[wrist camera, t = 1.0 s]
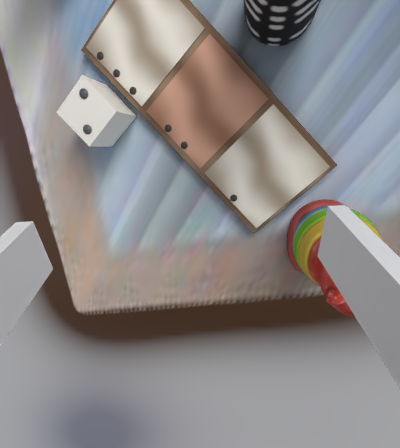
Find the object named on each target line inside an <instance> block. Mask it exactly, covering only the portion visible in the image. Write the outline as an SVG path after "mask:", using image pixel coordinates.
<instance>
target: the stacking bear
mask: <svg viewBox="0 0 400 448" xmlns="http://www.w3.org/2000/svg"><path fill="white" fill-rule="evenodd" d="M338 205H343V204H341V203H339V202H337V201H333V200H318V201H314V202H311V203H309V204H307V205H305V206H304V207H302V208H301V209H300V210H299V211H298V212H297V213H296V214H295V215H294V217H293V219H292V221H291V223H290V226H289V230H288V236H287V248H288V254H289V257H290V260H291V263H292V265H293V267H294V268H295V269H296V270H298V271H301V272H302V273H305V274H306V275H307V276H308V277H309V278H310V279H311V280H312V281H313V282H315V283H316V284H317V285H319V286H320V287H321V289H322V291H323V293H324V295H325V300H326V302H327V303H329V304H331V305H332V306H333V307H334V308H335V309H337V310H338V311H339V312H341V313H343V314H345V315H348V316H352V317H355V315H354V314H353V312H352V311H351V309H350V307H349V306H348V304H347V303H346V301H345V299H344V298H343V296H342V295H341V293H340V291H339V290H338V288H337V287H336V285H335V283H334V282H333V280H332V279H331V277H330V275H329V274H328V272H327V271H326V269H325V267H324V266H323V264H322V262H321V261H320V259H319V258H318V251H319V246H320V241H321V237H322V232H323V227H324V222H325V218H326V213H327V208H328V206H338ZM350 210H351V211H352V212H353V213H354V214H355V215H356V216H357V217H358V218H359V219H360V220H361V221H362V222H363V223H365V224H366V225H367V226H368V227H369V228H370V229H371V230H372V231H373V232H374V233H375V234H376V235H377V236H378V237H379V238H380V239H381V237H380V234H379V232H378V231H377V229H376V228H375V226H374V225H373V224H372V223H371V222H370V221H369V220H368V219H367V218H366V217H365V216H363V215H362V214H360V213H359V212H356V211H354V210H352V209H350ZM381 240H382V239H381Z"/></svg>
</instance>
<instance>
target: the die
mask: <svg viewBox="0 0 400 448" xmlns="http://www.w3.org/2000/svg"><path fill="white" fill-rule="evenodd" d="M56 113H57V114H58V115H59V116H60V117H61V118H62V119H63V120H64V121H65V122H66V123H67V124H68V125H69V126H70V127H71V128H72V129H73V130H74V131H75V132H76V133H77V134H78V135H79V136H80V137H81V138H82V139H83V141H84V142H85V143H86V144H87V145H88V146H89V147H112V146H113V145H114V144H115V143H116V141H117V140H118V139H119V138H120V136H121V135H122V134H123V133H124V131H125V130H126V129H127V128H128V126H129V125H130V124H131V123H132V122H133V120H134V119H135V118H136V117H137V116H136V115H135V114H134V113H133V112H132V111H131V110H130V109H129V108H128V107H127V106H126V105H125V103H124V102H123V101H122V100H121V99H120V98H119V97H118V96H117V95H116V94H115V93H114V92H113V91H112V90H111V89H110V88H109V87H108V85H105V84H103V83H101V82H98V81H96V80H93V79H91V78H89V77H86V76H84V75H82V76H81V77H80V79H79V80H78V82H77V83H76V85H75V86H74V87H73V89H72V90H71V92H70V93H69V95H68V96H67V98H66V99H65V101H64V102H63V104H62V105H61V107H60V108H59V109H58V111H57V112H56Z"/></svg>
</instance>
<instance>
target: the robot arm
mask: <svg viewBox="0 0 400 448" xmlns="http://www.w3.org/2000/svg"><path fill="white" fill-rule="evenodd" d="M318 258H319V259H320V261H321V262H322V264H323V266H324V267H325V269H326V271H327V272H328V274H329V275H330V277H331V279H332V280H333V282H334V283H335V285H336V287H337V288H338V290H339V291H340V293H341V295H342V296H343V298H344V299H345V301H346V303H347V304H348V306H349V307H350V309H351V311H352V312H353V314H354V315H355V317H356V319H357V320H358V322H359V324H360V325H361V327H362V328H363V330H364V331H365V333H366V335H367V336H368V338H369V339H370V341H371V343H372V344H373V346H374V347H375V349H376V351H377V352H378V354H379V356H380V357H381V359H382V360H383V362H384V364H385V365H386V367H387V368H388V370H389V372H390V373H391V375H392V376H393V378H394V380H395V381H396V383H397V385H398V386H399V388H400V257H399V256H398V255H397V254H396V253H395V252H394V251H392V250H391V249H390V248H389V247H388V246H387V245H386V244H385V243H384V242H383V241H382V240H381V239H380V238H379V237H378V236H377V235H376V234H375V233H374V232H373V231H372V230H371V229H370V228H369V227H368V226H367V225H366V224H365V223H363V222H362V221H361V220H360V219H359V218H358V217H357V216H356V215H355V214H354V213H353V212H352V211H351V210H350V209H349V208H348V207H347V206H346V205H338V206H328V208H327V213H326V218H325V222H324V227H323V232H322V237H321V241H320V246H319V251H318ZM52 270H53V268H52V265H51V263H50V260H49V258H48V256H47V253H46V251H45V249H44V246H43V244H42V242H41V239H40V237H39V235H38V232H37V230H36V228H35V225H34V223H33V221H32V222H16V223H15V224H14V225H13V226H11V227H10V228H9V229H8V230H7V231H6V232H5V233H4V234H3V235H1V236H0V346H1V345H2V343H3V342H4V340H5V339H6V337H7V336H8V334H9V333H10V331H11V330H12V328H13V327H14V326H15V324H16V323H17V321H18V320H19V318H20V317H21V315H22V314H23V312H24V311H25V309H26V308H27V306H28V305H29V304H30V302H31V301H32V299H33V298H34V296H35V295H36V293H37V292H38V290H39V289H40V288H41V286H42V285H43V283H44V282H45V280H46V279H47V277H48V276H49V274H50V273H51V271H52Z"/></svg>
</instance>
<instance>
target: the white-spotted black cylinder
mask: <svg viewBox="0 0 400 448" xmlns="http://www.w3.org/2000/svg"><path fill="white" fill-rule="evenodd" d="M320 1H321V0H244V8H245V18H246V22H247V26H248V28H249V30H250V32H251V34H252V35H253V36H254V37H255V38H256V39H257V40H258V41H260V42H261V43H264V44H266V45H270V46H281V45H285V44H288V43H290V42H292V41H294V40H295V39H297V38H298V37H299V36H301V35H302V34H303V32H304V31H305V30H306V29H307V28H308V26H309V25H310V23H311V21H312V19H313V17H314V15H315V12H316V10H317V8H318V5H319V3H320Z"/></svg>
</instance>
